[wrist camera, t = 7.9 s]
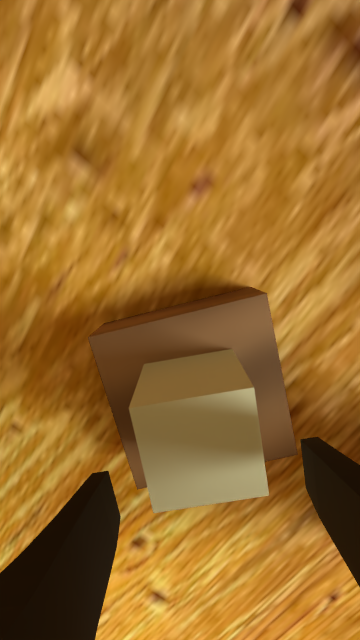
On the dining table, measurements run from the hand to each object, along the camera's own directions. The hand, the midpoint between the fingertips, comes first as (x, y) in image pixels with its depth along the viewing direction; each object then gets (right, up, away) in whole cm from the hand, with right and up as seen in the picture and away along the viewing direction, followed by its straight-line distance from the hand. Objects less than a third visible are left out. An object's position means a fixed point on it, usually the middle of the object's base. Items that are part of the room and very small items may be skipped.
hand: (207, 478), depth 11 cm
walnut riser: (0, +2, +10) cm, 10 cm away
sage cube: (0, +1, +6) cm, 6 cm away
